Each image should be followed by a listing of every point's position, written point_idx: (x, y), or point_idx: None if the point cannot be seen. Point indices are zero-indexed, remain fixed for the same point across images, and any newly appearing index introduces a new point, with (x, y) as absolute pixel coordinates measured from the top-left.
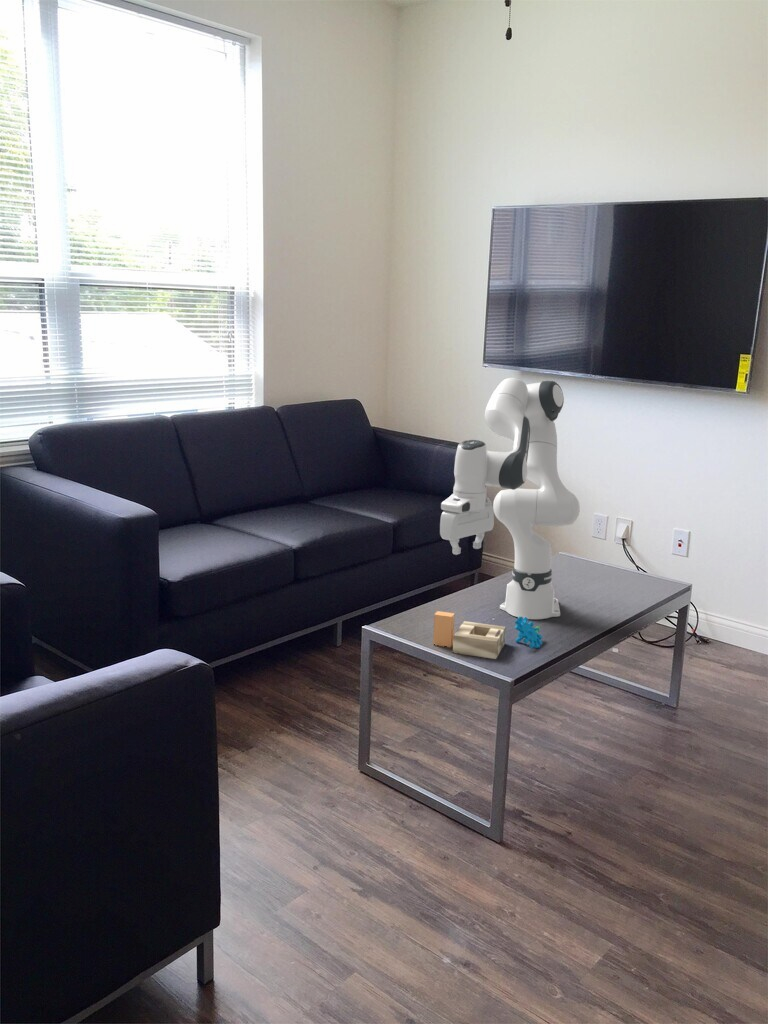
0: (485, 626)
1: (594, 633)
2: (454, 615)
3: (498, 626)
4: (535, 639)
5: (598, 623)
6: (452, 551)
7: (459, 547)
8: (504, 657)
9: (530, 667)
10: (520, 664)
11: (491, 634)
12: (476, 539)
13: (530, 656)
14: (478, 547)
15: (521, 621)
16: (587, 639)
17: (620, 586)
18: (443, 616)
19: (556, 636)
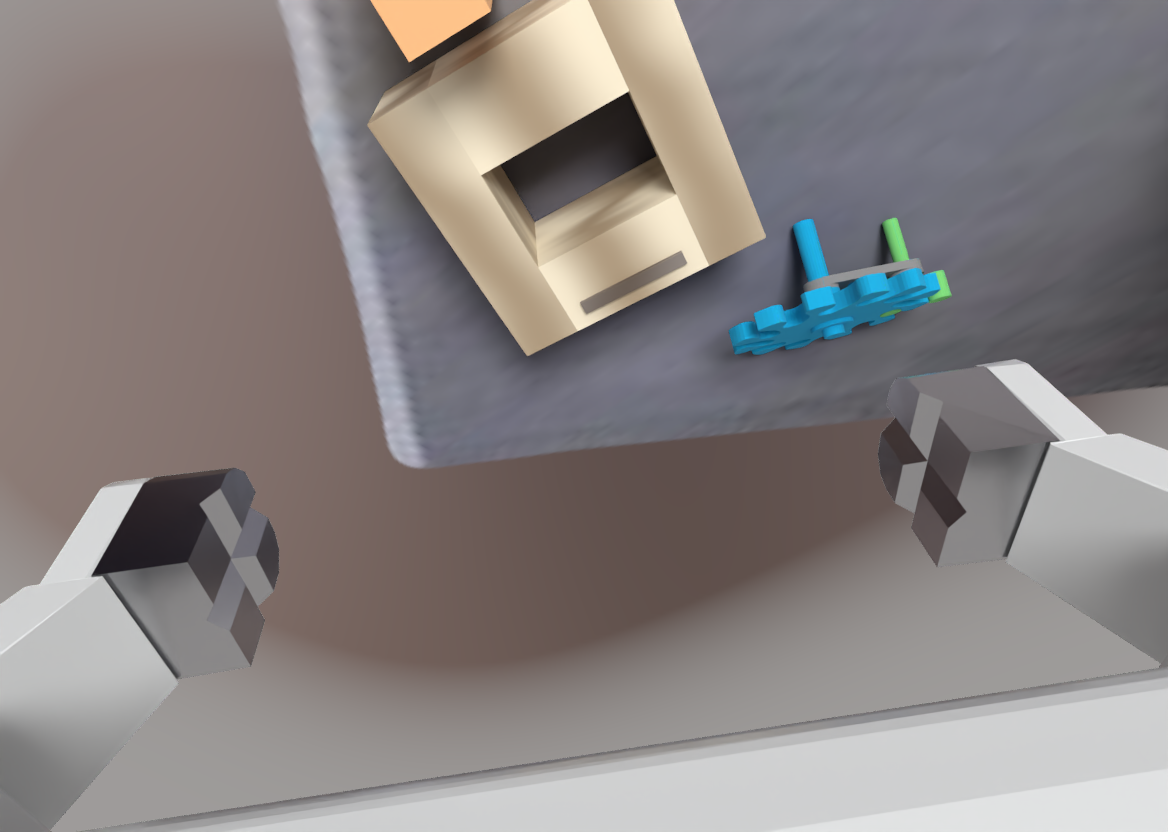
0: (679, 148)
1: (1137, 374)
2: (490, 8)
3: (740, 204)
4: (819, 335)
5: None
6: (95, 507)
7: (228, 646)
8: None
9: (576, 442)
10: (568, 403)
11: (590, 269)
12: (1098, 498)
13: (680, 374)
14: (902, 490)
15: (850, 300)
16: None
17: None
18: None
19: (1005, 295)
